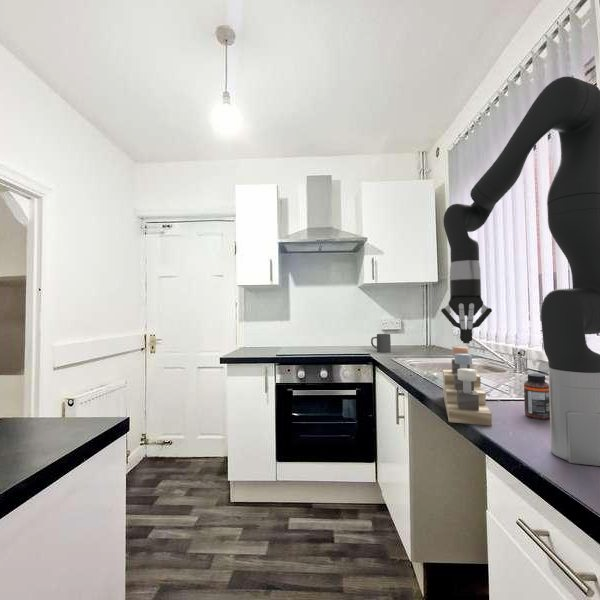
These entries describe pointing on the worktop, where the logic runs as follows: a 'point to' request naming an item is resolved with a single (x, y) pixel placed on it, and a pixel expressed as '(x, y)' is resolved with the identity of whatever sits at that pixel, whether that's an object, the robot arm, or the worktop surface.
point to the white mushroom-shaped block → (467, 378)
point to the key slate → (463, 360)
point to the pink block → (459, 350)
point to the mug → (382, 343)
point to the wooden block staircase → (464, 399)
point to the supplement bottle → (536, 397)
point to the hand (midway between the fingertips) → (466, 343)
